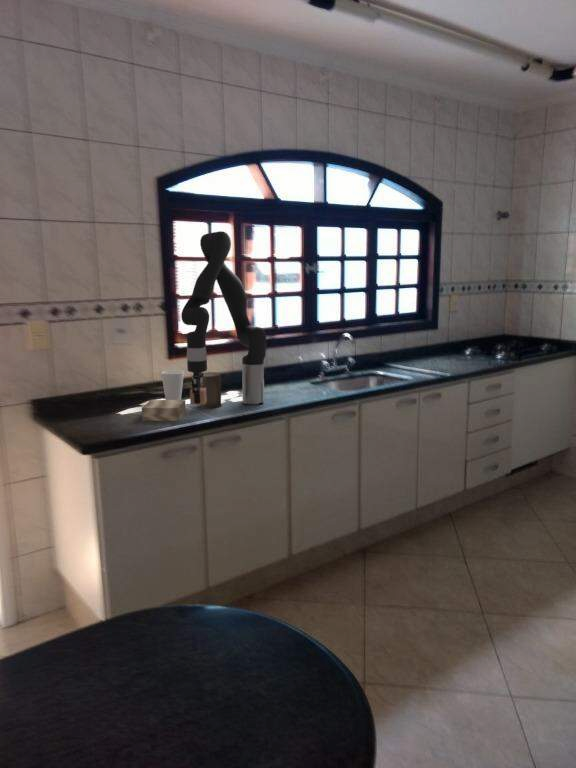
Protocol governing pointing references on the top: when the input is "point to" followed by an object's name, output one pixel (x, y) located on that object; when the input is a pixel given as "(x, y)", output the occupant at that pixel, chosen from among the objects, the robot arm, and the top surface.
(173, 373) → the foam cup
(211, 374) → the pillar candle
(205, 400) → the terracotta cube
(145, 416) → the birch plinth
